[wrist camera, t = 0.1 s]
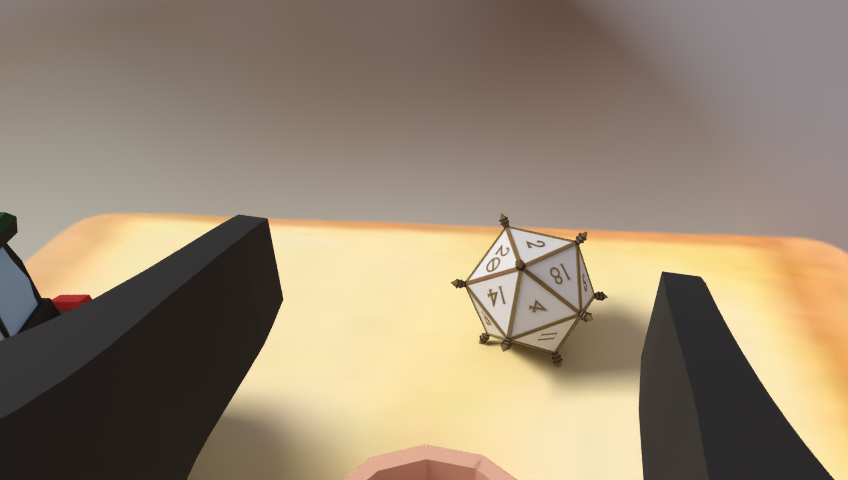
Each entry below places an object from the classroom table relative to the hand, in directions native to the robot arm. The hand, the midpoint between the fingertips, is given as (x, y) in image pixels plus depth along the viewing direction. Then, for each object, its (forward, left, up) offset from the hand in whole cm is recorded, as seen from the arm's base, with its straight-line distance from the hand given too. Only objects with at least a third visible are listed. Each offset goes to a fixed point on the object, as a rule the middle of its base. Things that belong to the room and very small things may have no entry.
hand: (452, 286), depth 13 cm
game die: (+24, 0, -22) cm, 32 cm away
